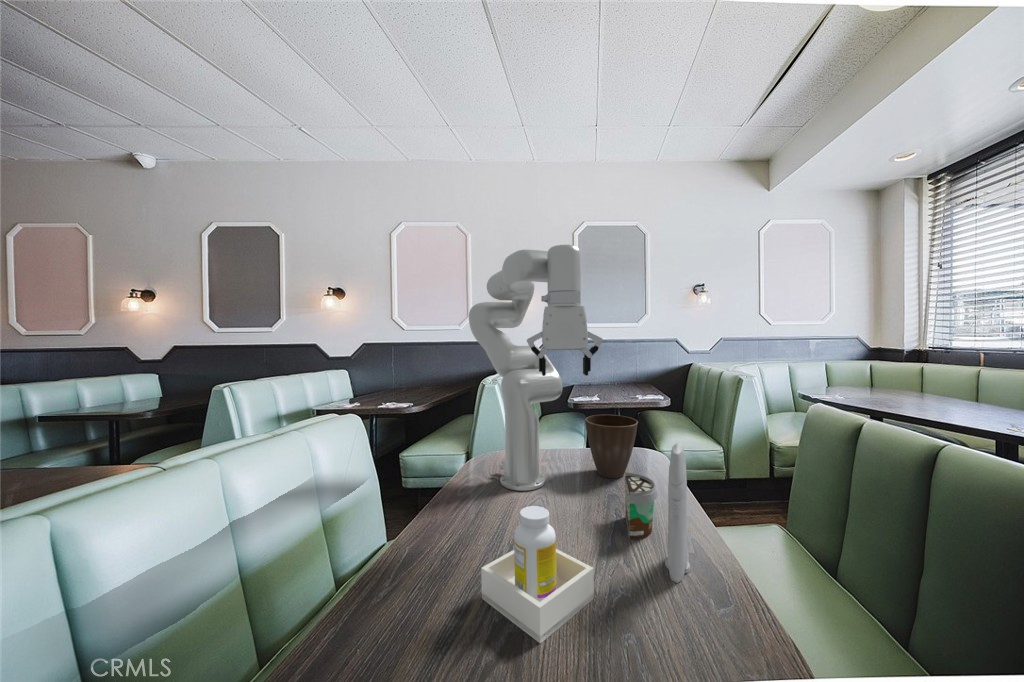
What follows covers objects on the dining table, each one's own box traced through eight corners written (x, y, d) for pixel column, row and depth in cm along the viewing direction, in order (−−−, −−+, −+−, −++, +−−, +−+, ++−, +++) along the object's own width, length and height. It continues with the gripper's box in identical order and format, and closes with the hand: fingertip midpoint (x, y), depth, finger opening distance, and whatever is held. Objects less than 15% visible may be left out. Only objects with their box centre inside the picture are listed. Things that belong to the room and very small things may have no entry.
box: (481, 598, 62) (481, 567, 62) (535, 564, 71) (535, 537, 71) (540, 643, 53) (539, 607, 53) (593, 598, 62) (593, 568, 62)
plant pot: (620, 462, 125) (620, 413, 124) (648, 480, 110) (648, 423, 110) (577, 467, 121) (576, 416, 120) (600, 486, 106) (600, 428, 106)
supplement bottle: (560, 582, 65) (559, 505, 64) (552, 610, 58) (551, 525, 58) (521, 575, 67) (520, 500, 66) (509, 601, 60) (508, 519, 60)
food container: (662, 545, 77) (662, 495, 77) (630, 542, 78) (629, 493, 78) (653, 516, 89) (652, 473, 89) (625, 514, 90) (624, 471, 90)
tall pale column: (668, 549, 76) (668, 436, 75) (691, 554, 74) (691, 439, 73) (661, 580, 66) (662, 452, 66) (688, 587, 64) (688, 455, 64)
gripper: (526, 299, 86) (527, 377, 87) (605, 298, 86) (605, 376, 86) (526, 302, 94) (526, 373, 94) (598, 301, 93) (599, 372, 94)
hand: (564, 374), depth 90 cm, fingers open, 9 cm apart
